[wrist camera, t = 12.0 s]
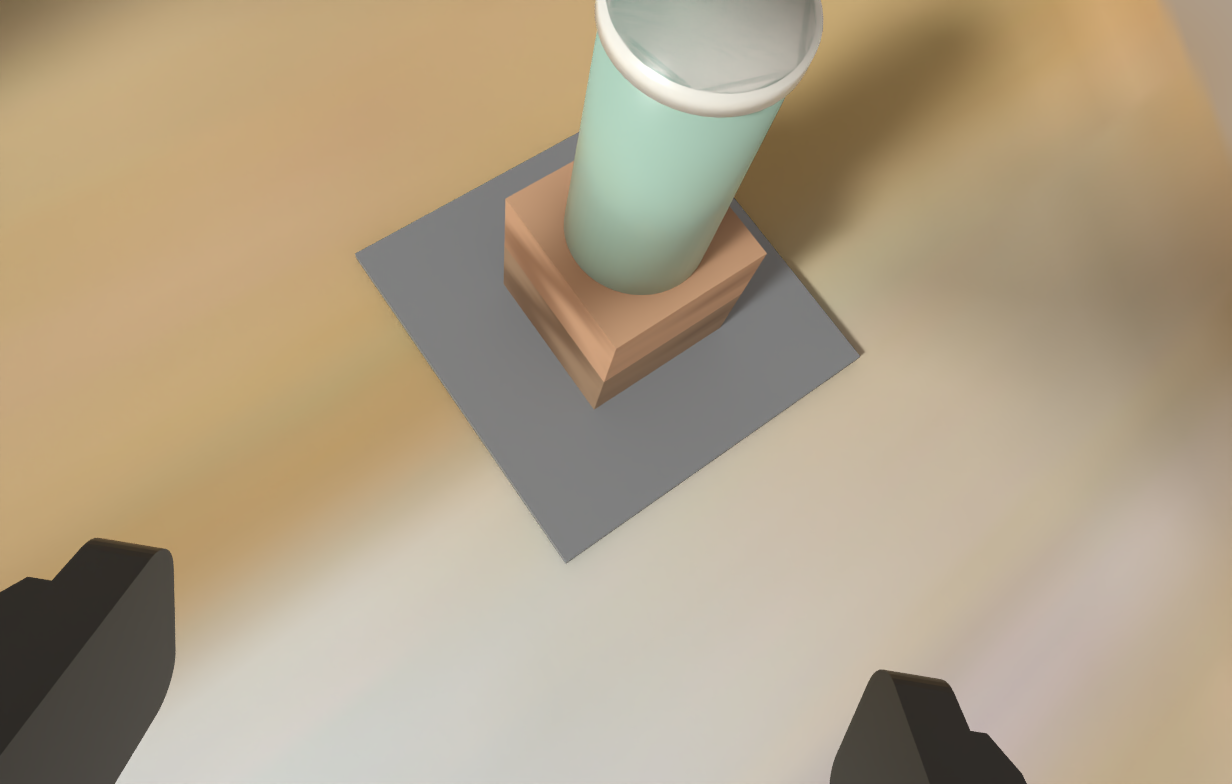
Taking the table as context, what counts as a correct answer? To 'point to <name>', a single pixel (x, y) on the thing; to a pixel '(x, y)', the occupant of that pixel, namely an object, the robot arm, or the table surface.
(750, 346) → the slate mat
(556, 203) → the cherry block
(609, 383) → the walnut block
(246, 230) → the table surface
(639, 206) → the sage canister
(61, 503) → the table surface
